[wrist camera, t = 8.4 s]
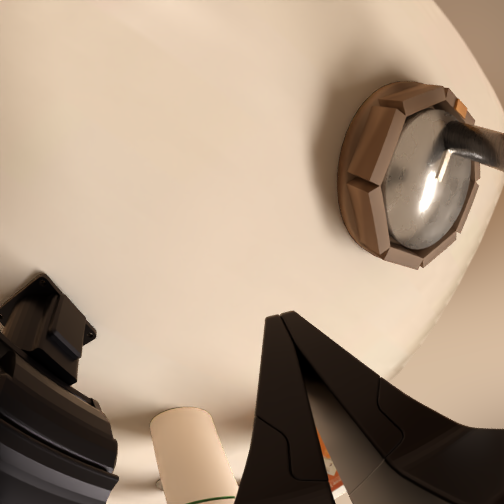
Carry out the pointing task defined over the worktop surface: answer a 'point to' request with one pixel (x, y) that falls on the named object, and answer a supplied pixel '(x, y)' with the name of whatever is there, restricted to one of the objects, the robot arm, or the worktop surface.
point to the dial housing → (376, 164)
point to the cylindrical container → (191, 458)
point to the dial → (434, 174)
